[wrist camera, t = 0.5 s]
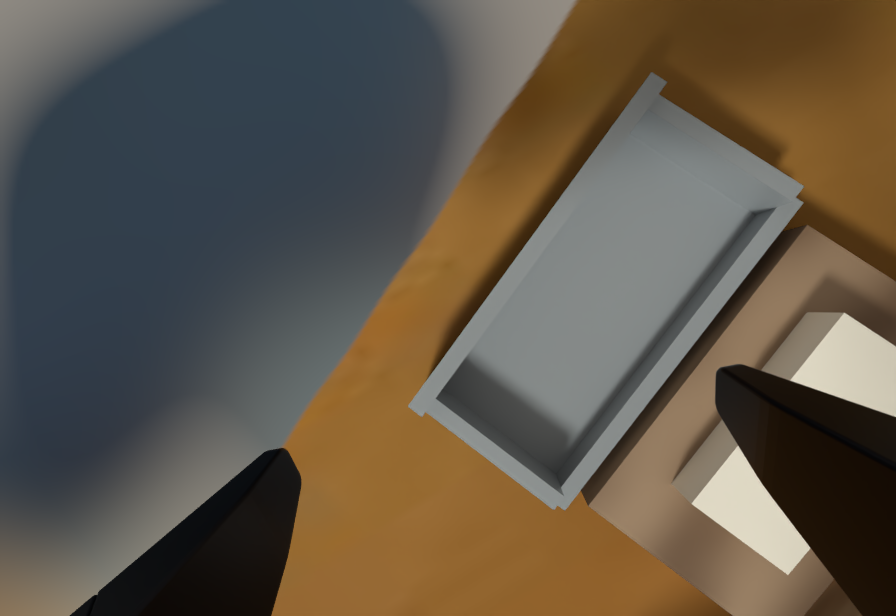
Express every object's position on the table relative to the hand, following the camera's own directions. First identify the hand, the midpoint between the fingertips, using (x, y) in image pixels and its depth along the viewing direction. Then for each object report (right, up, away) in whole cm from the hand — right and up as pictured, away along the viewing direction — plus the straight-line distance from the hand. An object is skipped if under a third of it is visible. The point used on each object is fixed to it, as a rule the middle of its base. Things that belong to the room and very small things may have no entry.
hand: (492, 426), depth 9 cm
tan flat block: (+15, -3, +12) cm, 19 cm away
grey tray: (+7, +3, +13) cm, 15 cm away
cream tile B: (+12, -5, +10) cm, 17 cm away
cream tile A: (+15, -1, +10) cm, 18 cm away
